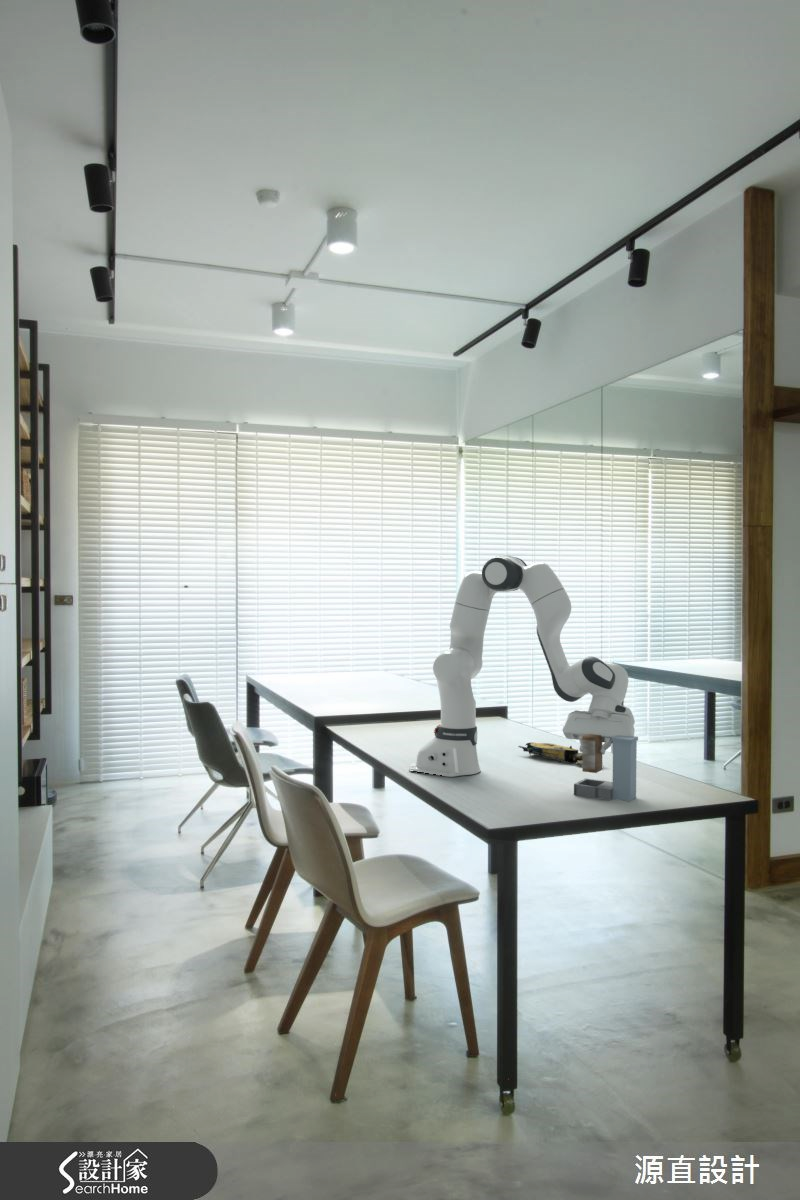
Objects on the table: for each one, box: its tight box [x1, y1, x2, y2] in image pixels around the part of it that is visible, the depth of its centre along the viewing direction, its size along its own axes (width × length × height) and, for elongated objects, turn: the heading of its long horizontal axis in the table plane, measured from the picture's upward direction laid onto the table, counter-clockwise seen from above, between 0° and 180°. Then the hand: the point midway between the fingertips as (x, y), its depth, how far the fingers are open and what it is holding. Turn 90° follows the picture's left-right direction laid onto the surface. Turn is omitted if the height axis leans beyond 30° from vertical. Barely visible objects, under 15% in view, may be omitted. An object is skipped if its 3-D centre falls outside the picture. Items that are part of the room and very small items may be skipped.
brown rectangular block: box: [581, 734, 603, 774], centre depth 239 cm, size 4×6×10 cm
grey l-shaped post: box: [573, 735, 639, 802], centre depth 237 cm, size 16×9×17 cm, turn 56°
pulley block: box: [517, 742, 582, 767], centre depth 283 cm, size 14×6×30 cm
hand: (591, 752), depth 238 cm, fingers closed on brown rectangular block, 4 cm apart
